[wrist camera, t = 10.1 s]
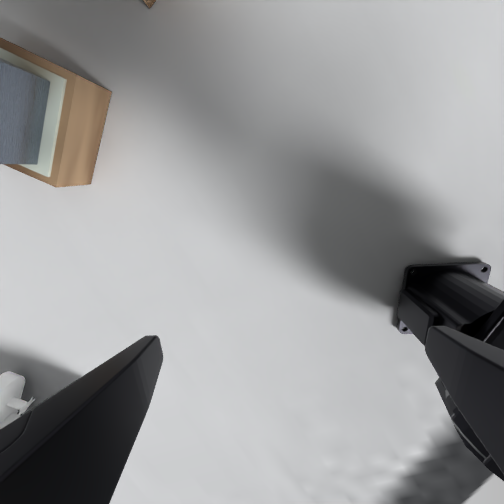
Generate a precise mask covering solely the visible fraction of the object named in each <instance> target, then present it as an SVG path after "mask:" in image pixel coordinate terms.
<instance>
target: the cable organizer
mask: <svg viewBox="0 0 504 504" xmlns="http://www.w3.org/2000/svg"><path fill="white" fill-rule="evenodd" d="M24 385H25V378H24V376H21V375H18V374H16V373H13V372H11V371H8V372H5V373H3V374H1V375H0V429H2V428H3V427H5V426H6V425H8V424H10V423H11V422H13V421H14V420H16V419H17V418H19V417H20V416H21V415H20V414H21V413H25V411H26V409H27V408H28V407H29V406H30V404H31V403H32V402H33V401H34V400H35V399H36V398H35V399H34V400H32V399H33V397H32V398H31V399H30V401H29V402H27V401H24V400H22V399H21V396H22V392H23V389H24ZM18 410H20V413H19V414H17V413H18Z"/></svg>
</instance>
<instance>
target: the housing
mask: <svg viewBox="0 0 504 504" xmlns="http://www.w3.org/2000/svg"><path fill="white" fill-rule="evenodd" d="M49 88H50V81H48V80H46V79H44V78H42V77H40V76H38V75H35V74H33V73H31V72H29V71H27V70H25V69H23V68H21V67H19V66H17V65H15V64H13V63H10V62H8V61H6V60H4V59H2V58H0V164H33V165H37V164H38V157H39V151H40V145H41V138H42V132H43V126H44V119H45V113H46V107H47V100H48V94H49Z"/></svg>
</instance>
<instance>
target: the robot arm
mask: <svg viewBox="0 0 504 504" xmlns="http://www.w3.org/2000/svg"><path fill="white" fill-rule="evenodd" d="M483 267H484V268H483ZM482 268H483V269H482ZM481 269H482V270H481ZM412 270H414V272H413V273H411V271H412ZM490 271H491V266H490V265H489V264H486V263H484V262H472V263H447V264H422V265H409V266H408V267H407V268H406V269H405V273H404V280H403V287H402V290H401V291H400V298H399V305H398V312H397V316H398V322H397V329H398V330H399V332H400V333H402V334H414V335H415V336H416V337H417V338H418V339H419V341H420V342H421V343H422V344H423V345H424V346H425V351H426V354H427V356H428V358H429V360H430V362H431V363H432V365H433V367H434V369H435V370H436V372H437V374H438V376H439V378H438V380H437V381H436V382H435V384H436V386H437V389H438V391H439V393H440V395H441V397H442V400H443V402H444V404H445V406H446V408H447V410H448V413H449V415H450V417H451V419H452V421H453V424H454V426H455V428H456V430H457V432H458V434H459V435H460V437H461V439H462V440H463V442H464V444H465V446H466V447H467V448H468V449H469V450H470V451H472V452H473V454H474V455H475V456H476V457H477V458H478V459H479V460H480V461H481V462H482V463H483V464H484V465H485V466H486V467H487V468H488V469H489V470H490V471H492V472H493V473H494V474H495V475H497V476H498V477H499V478H501V479H502V480H503V481H504V292H503V291H501V290H499V289H497V288H495V287H493V286H491V285H489V284H487V282H488V278H489V275H490ZM403 327H405V328H404V329H402V328H403ZM162 362H163V353H162V348H161V344H160V339H159V337H158V336H156V335H153V336H145V337H143V338H141V339H140V340H138V341H137V342H135V343H134V344H132V345H131V346H129V347H128V348H126V349H124V350H123V351H121V352H120V353H118V354H117V355H115V356H114V357H112V358H110V359H109V360H107V361H106V362H104V363H103V364H101V365H100V366H98V367H97V368H95V369H93V370H92V371H90V372H89V373H87V374H86V375H84V376H83V377H81V378H79V379H78V380H76V381H75V382H73V383H72V384H70V385H69V386H67V387H66V388H64V389H62V390H61V391H59V392H58V393H56V394H55V395H53V396H52V397H50V398H48V399H47V400H45V401H44V402H42V403H41V404H39V405H38V406H36V407H35V408H33V410H32V411H31V410H30V411H28V412H27V413H25V414H24V415H22V416H20V417H19V418H17V419H16V420H14V421H13V422H11V423H10V424H8V425H6V426H5V427H3V428H2V429H0V504H109V503H110V500H111V498H112V496H113V493H114V491H115V488H116V486H117V483H118V481H119V479H120V476H121V474H122V471H123V469H124V466H125V464H126V462H127V459H128V457H129V454H130V452H131V449H132V447H133V445H134V442H135V440H136V437H137V435H138V432H139V430H140V428H141V425H142V423H143V420H144V418H145V415H146V413H147V410H148V408H149V405H150V402H151V399H152V395H153V392H154V389H155V385H156V382H157V379H158V375H159V372H160V369H161V365H162Z"/></svg>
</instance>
